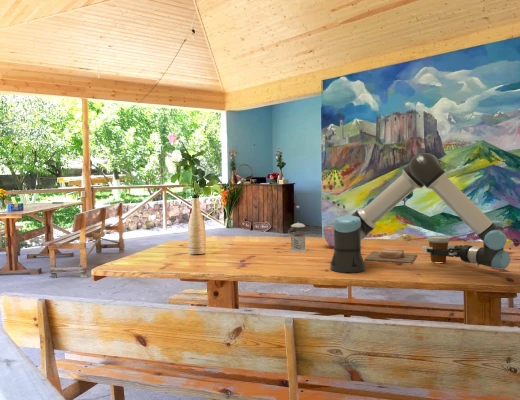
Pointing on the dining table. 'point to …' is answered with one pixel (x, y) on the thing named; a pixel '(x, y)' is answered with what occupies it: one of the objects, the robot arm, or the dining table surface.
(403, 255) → the pedestal
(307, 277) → the dining table surface
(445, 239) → the disposable coffee cup
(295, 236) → the french press
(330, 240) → the bowl of food
